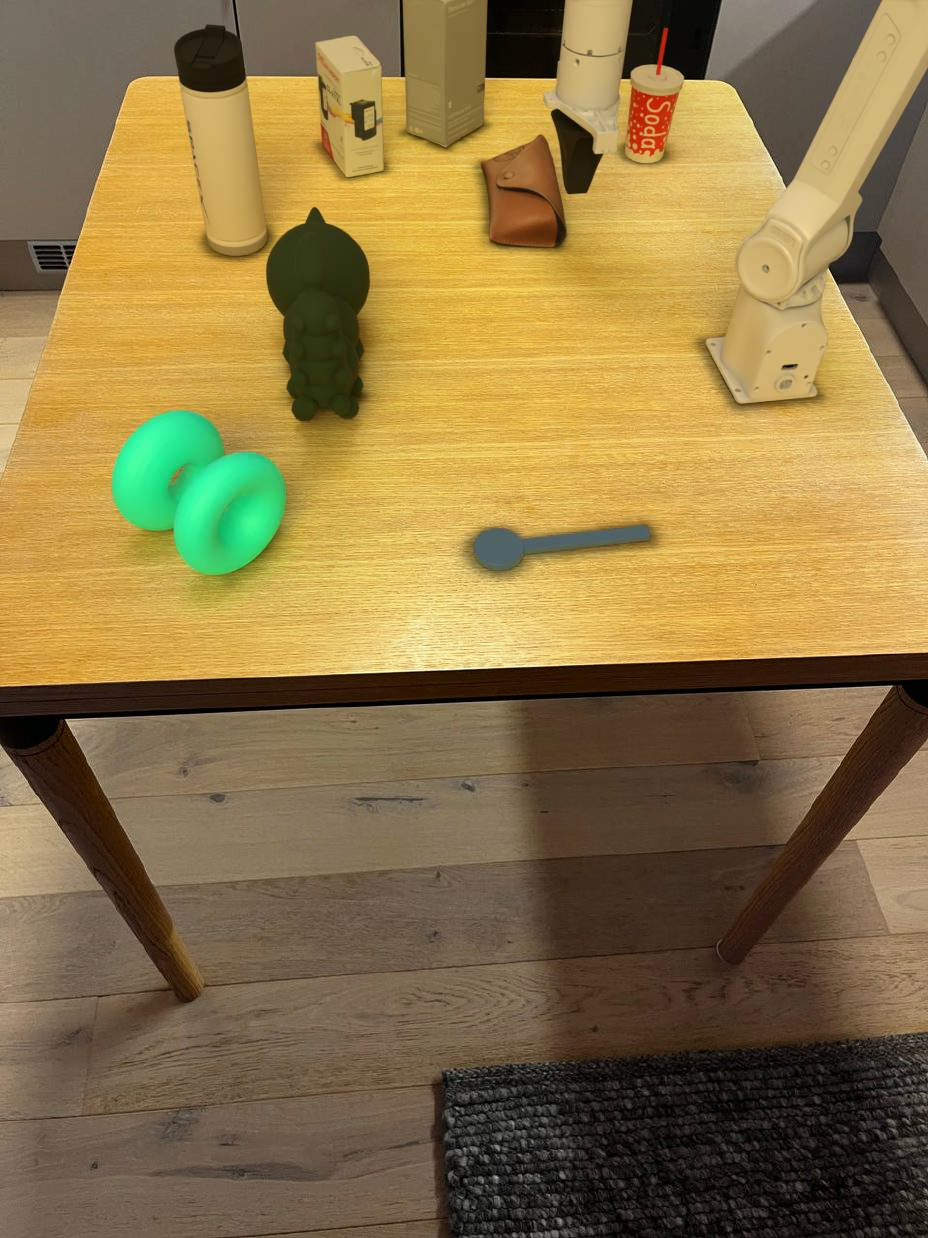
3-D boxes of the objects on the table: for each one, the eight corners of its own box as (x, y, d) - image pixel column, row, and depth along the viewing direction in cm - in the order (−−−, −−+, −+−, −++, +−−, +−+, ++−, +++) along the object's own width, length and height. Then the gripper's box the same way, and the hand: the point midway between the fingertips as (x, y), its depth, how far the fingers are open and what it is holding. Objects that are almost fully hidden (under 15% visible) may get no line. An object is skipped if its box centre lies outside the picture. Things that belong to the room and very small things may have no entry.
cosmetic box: (446, 150, 120) (448, 4, 108) (399, 131, 123) (397, -13, 110) (487, 124, 125) (495, -18, 112) (442, 106, 127) (444, -35, 115)
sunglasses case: (476, 158, 118) (508, 109, 114) (524, 187, 121) (557, 140, 117) (488, 243, 107) (524, 192, 103) (541, 273, 110) (578, 224, 106)
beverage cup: (613, 160, 120) (633, 35, 109) (623, 137, 124) (643, 13, 113) (664, 170, 119) (689, 43, 108) (672, 146, 123) (697, 22, 112)
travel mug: (274, 225, 109) (249, 26, 93) (260, 259, 105) (232, 56, 89) (217, 220, 109) (183, 20, 93) (201, 254, 105) (163, 51, 89)
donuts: (215, 475, 85) (195, 380, 77) (300, 533, 81) (287, 439, 73) (120, 541, 80) (88, 446, 72) (205, 605, 76) (181, 513, 68)
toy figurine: (382, 463, 89) (367, 278, 102) (377, 287, 73) (360, 96, 86) (275, 468, 88) (274, 281, 101) (245, 291, 72) (249, 97, 85)
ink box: (320, 144, 120) (312, 38, 111) (358, 137, 122) (353, 32, 112) (346, 178, 115) (339, 71, 106) (385, 171, 117) (382, 64, 108)
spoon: (654, 553, 81) (656, 547, 80) (478, 573, 79) (479, 567, 78) (640, 517, 83) (642, 511, 83) (469, 536, 81) (469, 530, 81)
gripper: (531, 11, 92) (520, 156, 103) (570, 81, 84) (553, 232, 94) (605, 8, 93) (586, 152, 104) (651, 77, 85) (625, 227, 95)
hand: (575, 190), depth 99 cm, fingers closed
